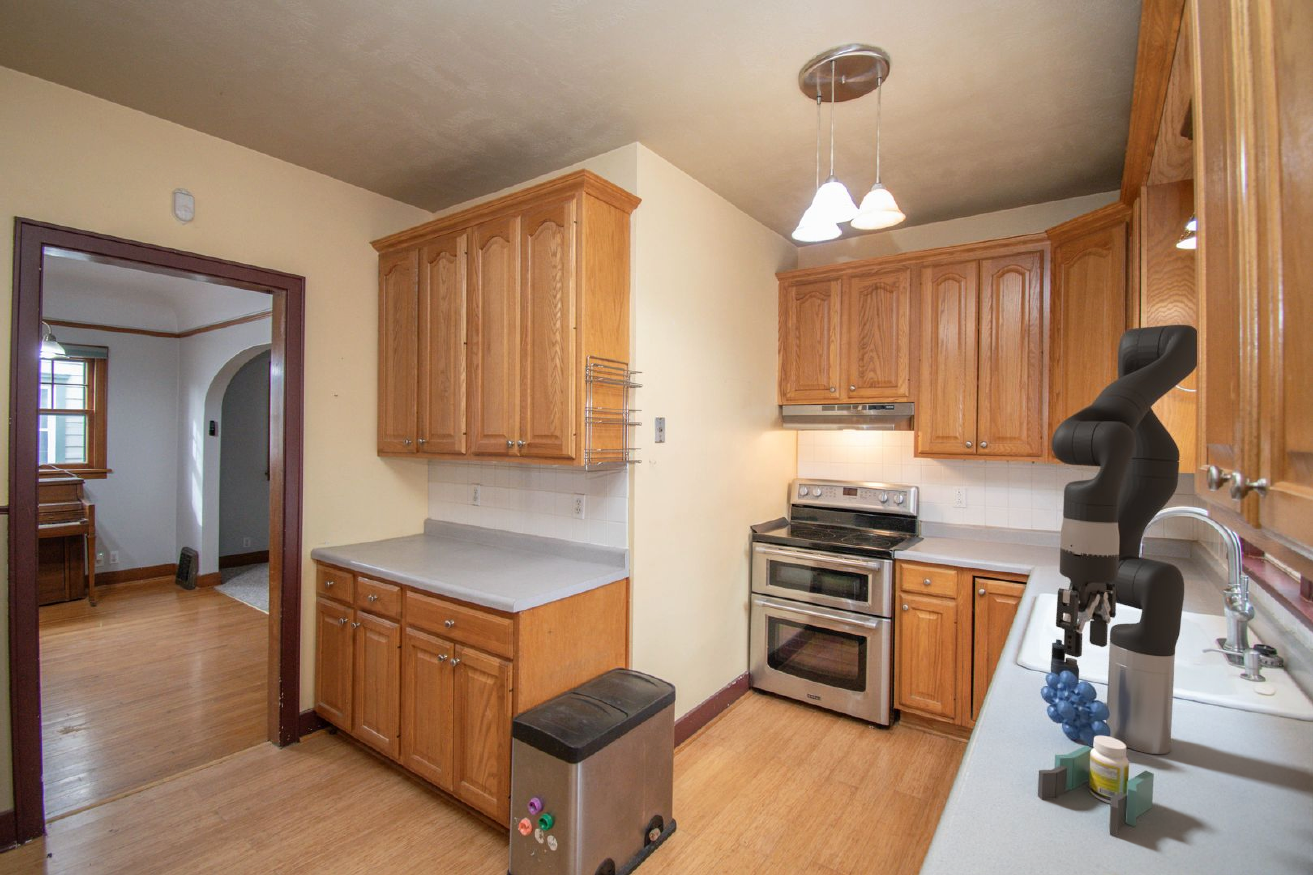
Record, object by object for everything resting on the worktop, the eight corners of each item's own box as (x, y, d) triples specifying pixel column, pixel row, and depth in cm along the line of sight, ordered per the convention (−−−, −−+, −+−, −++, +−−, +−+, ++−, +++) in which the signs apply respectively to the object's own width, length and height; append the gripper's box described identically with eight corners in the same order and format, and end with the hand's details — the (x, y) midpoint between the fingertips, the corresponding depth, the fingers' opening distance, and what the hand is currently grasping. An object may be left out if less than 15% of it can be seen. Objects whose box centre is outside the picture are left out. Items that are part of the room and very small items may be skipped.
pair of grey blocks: (1054, 787, 94) (1055, 761, 94) (1133, 826, 85) (1134, 798, 85) (1036, 796, 91) (1037, 770, 91) (1115, 837, 83) (1117, 808, 82)
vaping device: (1046, 693, 129) (1049, 637, 129) (1073, 695, 128) (1076, 639, 128) (1053, 698, 126) (1055, 641, 126) (1080, 701, 126) (1082, 643, 125)
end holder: (1080, 772, 99) (1081, 741, 99) (1160, 808, 89) (1162, 775, 89) (1052, 787, 94) (1053, 755, 94) (1134, 827, 85) (1135, 792, 85)
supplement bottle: (1110, 787, 95) (1113, 734, 95) (1135, 806, 90) (1138, 750, 90) (1081, 786, 95) (1083, 733, 94) (1104, 805, 90) (1107, 749, 90)
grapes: (1026, 729, 113) (1029, 665, 112) (1047, 722, 116) (1050, 660, 116) (1095, 761, 102) (1098, 690, 102) (1116, 752, 105) (1119, 684, 105)
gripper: (1083, 540, 102) (1080, 635, 102) (1040, 548, 94) (1037, 650, 95) (1137, 548, 95) (1133, 649, 96) (1095, 557, 88) (1091, 667, 88)
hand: (1085, 650), depth 95 cm, fingers open, 8 cm apart
